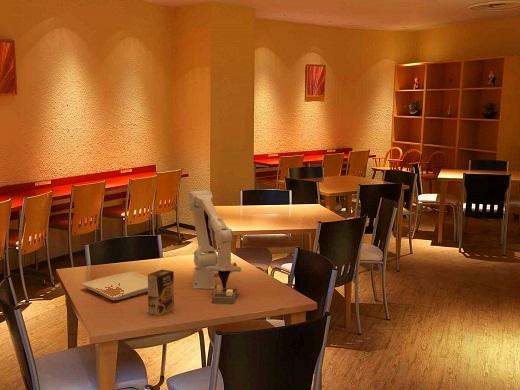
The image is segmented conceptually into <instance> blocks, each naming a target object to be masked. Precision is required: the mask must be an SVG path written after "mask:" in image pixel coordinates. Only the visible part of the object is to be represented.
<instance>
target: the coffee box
mask: <svg viewBox="0 0 520 390" xmlns="http://www.w3.org/2000/svg"><path fill="white" fill-rule="evenodd" d="M174 272H175V271H174V270H169V269H160V270H157V271H153V272H150V273H147V276H148V292H147V302H148V304H147V308H148V309H147V311H148V314H152V315H155V316H159V317H160V316H162V315H164V314H167V313H169V312H171V311H174V310H175V284H174V283H175V279H174V278H175V276H174V275H175V274H174Z"/></svg>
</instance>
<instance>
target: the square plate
mask: <svg viewBox="0 0 520 390" xmlns="http://www.w3.org/2000/svg"><path fill="white" fill-rule="evenodd" d="M119 283H120V286H119V285H118V284H119ZM111 285H112V286H113V287H110V286H111ZM81 286H83V287H84V288H85V289H87V290H89V291H92V292H94V293H97V294H99V295H100V296H103V297H105V298H107V299H109V300H111V301H115V300H116V301H119V300H124V299H127V298H132V297H135V296H139V295H143V294H147V293H148V275H144V274H141V273H138V272H135V271H128V272H123V273H119V274H113V275H108V276H103V277H99V278H96V279H92V280H89V281H88V280H87V281H83V282H82V283H81ZM105 287H110V288H113V289H116V287H119V288H121V289H122V290H124V292H120V293H124V294H123V295H122V294H119V295H120V296H119V295H116V296H113V297H112V296H110V295H108V294H106V293H104V292H102V291H101V290H98V289H102V290H106V289H108V288H105ZM96 288H98V289H96ZM120 291H121V290H120ZM146 292H147V293H146ZM142 293H143V294H142ZM138 294H139V295H138ZM131 296H132V297H131Z"/></svg>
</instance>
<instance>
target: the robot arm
mask: <svg viewBox="0 0 520 390" xmlns="http://www.w3.org/2000/svg"><path fill="white" fill-rule="evenodd" d="M213 198H214V196H213V193H212V191H211V190H210V189H204V190H194V191H193V190H191V191H190V192H189V193H188V196H187V202H188V207H189V210H190V211H191V213H192V217H193V223H194V229H195V235H196V241H197V245H198V247H197V249H195V251H194V252H193V256H194V257H193V263H194V265H195V267H193V271H192V272H193V273H192V282H193V283H192V288H193V289H203V290H204V289H205V290H206V289H208V290H213V289H215V287H216V286H217V282H215V277H214V271H218V275H219V277H218V278H219V279H220V281H221V284H222V285H223V288H227V285H228V284H227V282H228V280H229V277H230V274H231V273H232V272H233V273H242V266H231V264H232V242H233V241H234V232H233V230H232V229H231V228H229V227H228V226H227V224H226V223H225V221H224V220H223V218H222V216H221V215H218V213H217V210H216V208H215V206H214V204H213V201H214V199H213ZM204 212H205V213H206V214H207V216H208V217H209V224H210V227H211V228H212V230H213V232H214V240H215V246H216V247H217V252H216V249H215V247H213V246H211V245H210V238H209V235H208V229H207V223H206V218H205V213H204ZM217 263H218V266H216V265H217Z"/></svg>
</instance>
